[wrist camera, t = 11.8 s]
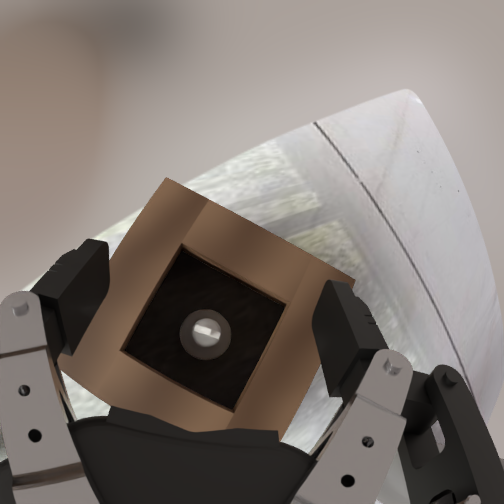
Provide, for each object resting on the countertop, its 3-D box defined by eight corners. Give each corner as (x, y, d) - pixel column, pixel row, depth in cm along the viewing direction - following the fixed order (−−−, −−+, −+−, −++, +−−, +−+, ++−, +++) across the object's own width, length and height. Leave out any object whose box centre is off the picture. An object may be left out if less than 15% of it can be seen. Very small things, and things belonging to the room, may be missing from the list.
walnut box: (299, 304, 30) (355, 279, 19) (236, 427, 25) (258, 477, 14) (178, 238, 30) (166, 177, 19) (109, 357, 25) (53, 364, 14)
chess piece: (222, 366, 27) (232, 380, 18) (173, 349, 27) (157, 354, 17) (237, 318, 29) (255, 307, 19) (189, 302, 28) (183, 282, 19)
